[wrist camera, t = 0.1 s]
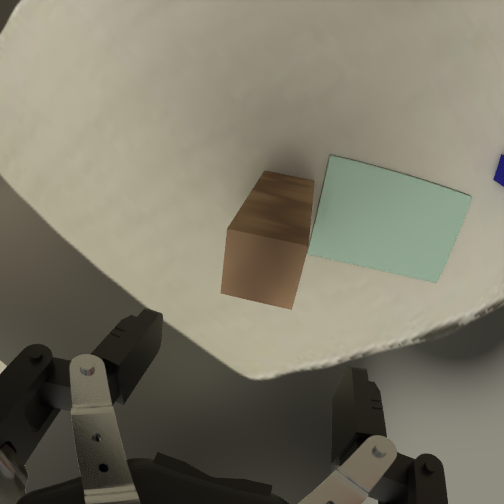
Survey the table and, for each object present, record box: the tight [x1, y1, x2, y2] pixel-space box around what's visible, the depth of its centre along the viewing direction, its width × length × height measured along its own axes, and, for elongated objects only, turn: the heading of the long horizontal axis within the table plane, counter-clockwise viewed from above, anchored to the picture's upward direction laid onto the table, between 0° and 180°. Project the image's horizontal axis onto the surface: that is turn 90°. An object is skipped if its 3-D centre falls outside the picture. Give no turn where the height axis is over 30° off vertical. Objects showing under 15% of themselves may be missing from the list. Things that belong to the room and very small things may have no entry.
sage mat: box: [307, 155, 472, 283], centre depth 31 cm, size 16×11×1 cm
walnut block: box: [221, 171, 314, 310], centre depth 27 cm, size 5×5×14 cm
